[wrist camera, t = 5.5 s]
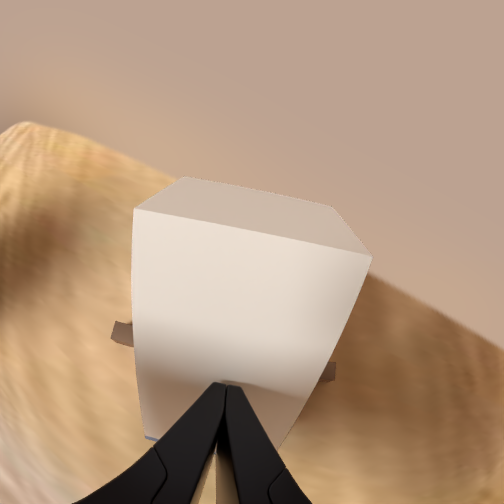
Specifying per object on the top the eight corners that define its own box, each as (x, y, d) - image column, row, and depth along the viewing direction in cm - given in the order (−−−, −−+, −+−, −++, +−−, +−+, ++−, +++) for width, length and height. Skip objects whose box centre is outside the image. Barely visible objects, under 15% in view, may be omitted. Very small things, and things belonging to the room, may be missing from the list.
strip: (327, 381, 15) (334, 380, 14) (116, 342, 14) (110, 338, 13) (329, 365, 15) (335, 362, 15) (120, 325, 15) (115, 320, 14)
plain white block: (270, 460, 10) (373, 256, 6) (145, 438, 10) (133, 208, 6) (270, 388, 14) (331, 206, 10) (168, 369, 14) (184, 176, 10)
